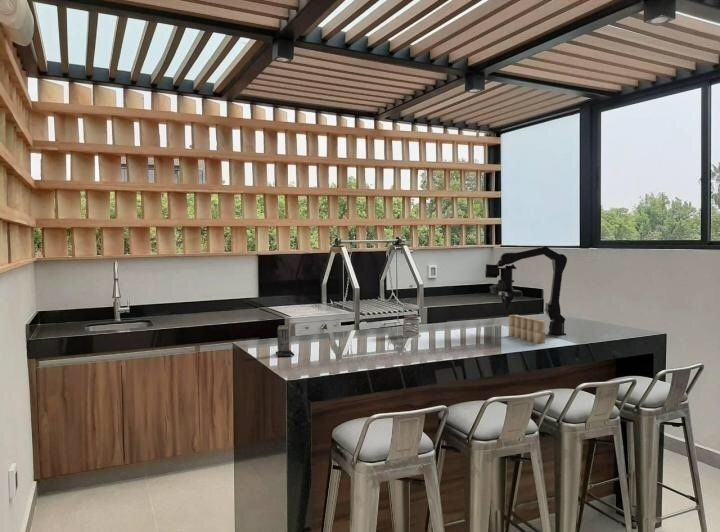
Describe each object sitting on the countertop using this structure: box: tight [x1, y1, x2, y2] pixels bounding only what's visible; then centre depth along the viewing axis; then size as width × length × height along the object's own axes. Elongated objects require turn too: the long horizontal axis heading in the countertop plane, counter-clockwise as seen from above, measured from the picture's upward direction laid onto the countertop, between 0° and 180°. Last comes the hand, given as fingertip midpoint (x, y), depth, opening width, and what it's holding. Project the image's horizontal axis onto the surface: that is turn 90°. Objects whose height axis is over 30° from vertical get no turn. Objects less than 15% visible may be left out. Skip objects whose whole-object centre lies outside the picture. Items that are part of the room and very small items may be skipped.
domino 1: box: [508, 314, 521, 337], centre depth 268 cm, size 5×2×10 cm, turn 109°
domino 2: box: [513, 315, 527, 339], centre depth 264 cm, size 5×2×10 cm, turn 109°
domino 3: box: [520, 317, 533, 341], centre depth 259 cm, size 5×2×10 cm, turn 109°
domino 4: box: [526, 318, 540, 342], centre depth 255 cm, size 5×2×10 cm, turn 109°
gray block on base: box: [274, 324, 295, 357], centre depth 225 cm, size 9×8×12 cm
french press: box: [397, 284, 422, 339], centre depth 268 cm, size 10×12×25 cm
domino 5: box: [532, 319, 546, 344], centre depth 250 cm, size 5×2×10 cm, turn 109°
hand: (505, 309), depth 275 cm, fingers closed
